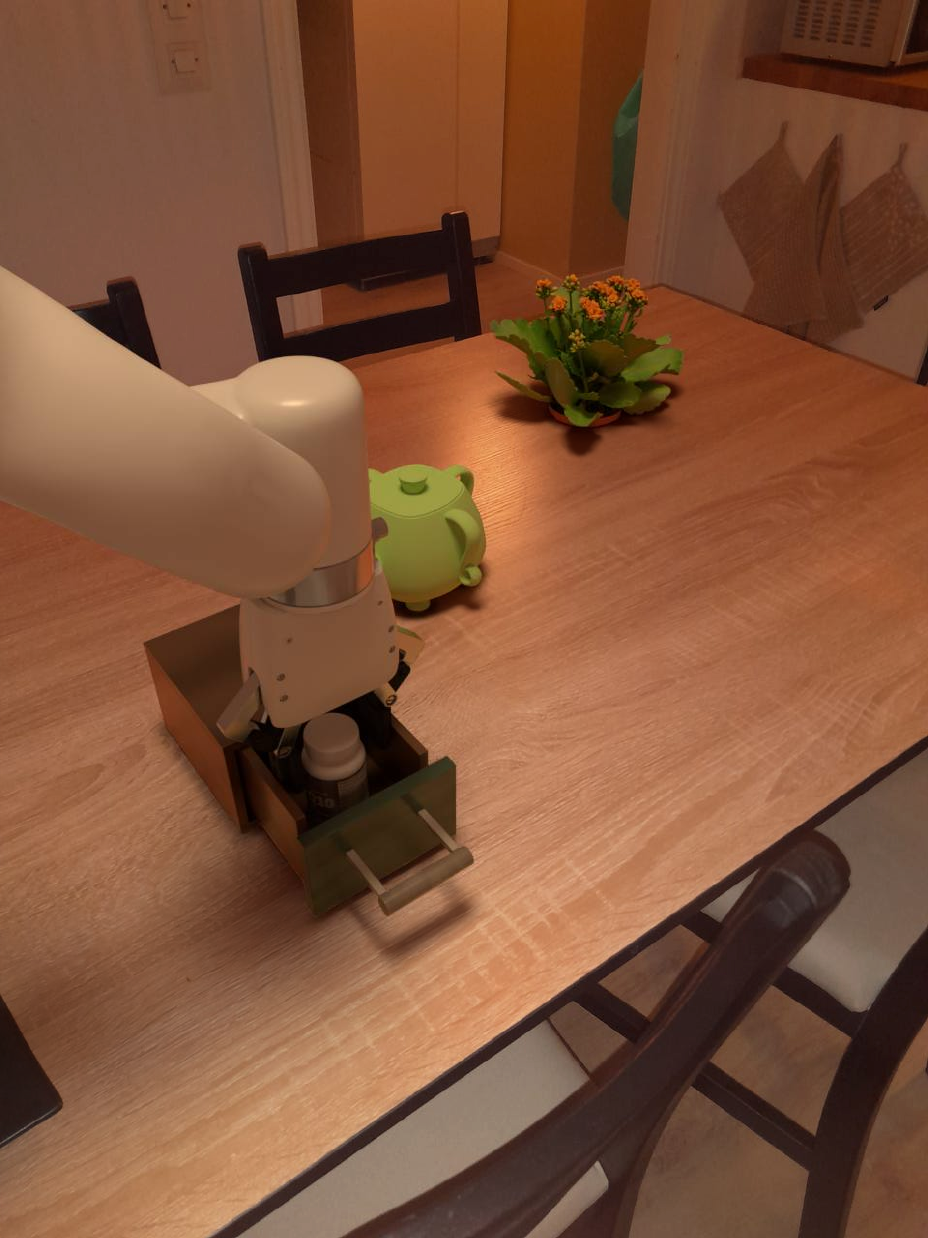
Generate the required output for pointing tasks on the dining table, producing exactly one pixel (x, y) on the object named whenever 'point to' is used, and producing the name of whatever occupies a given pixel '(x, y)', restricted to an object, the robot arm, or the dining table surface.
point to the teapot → (427, 531)
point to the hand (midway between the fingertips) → (334, 757)
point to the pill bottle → (333, 766)
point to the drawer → (363, 821)
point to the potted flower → (591, 352)
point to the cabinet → (204, 701)
